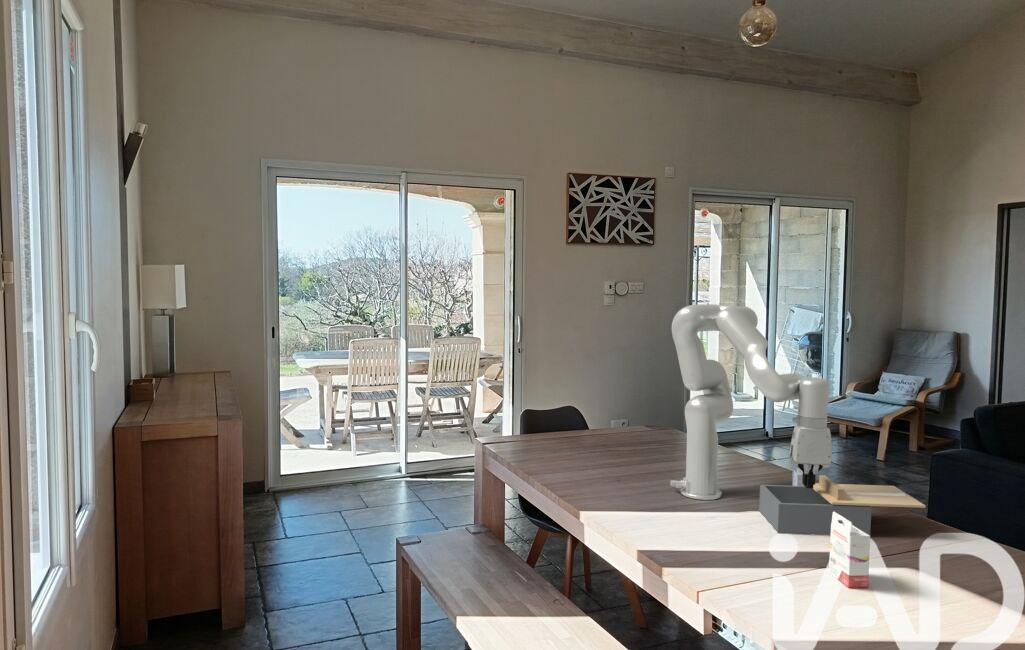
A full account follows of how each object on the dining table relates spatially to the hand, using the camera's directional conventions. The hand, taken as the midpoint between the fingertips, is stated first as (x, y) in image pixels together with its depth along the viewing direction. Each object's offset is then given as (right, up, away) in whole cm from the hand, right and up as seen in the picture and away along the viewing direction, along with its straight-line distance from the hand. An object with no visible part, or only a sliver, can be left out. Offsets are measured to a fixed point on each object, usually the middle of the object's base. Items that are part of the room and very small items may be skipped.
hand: (808, 486), depth 197 cm
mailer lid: (+15, -2, -1) cm, 15 cm away
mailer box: (+1, -10, 0) cm, 10 cm away
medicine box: (+8, -9, +24) cm, 27 cm away
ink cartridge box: (-7, -13, -37) cm, 40 cm away
